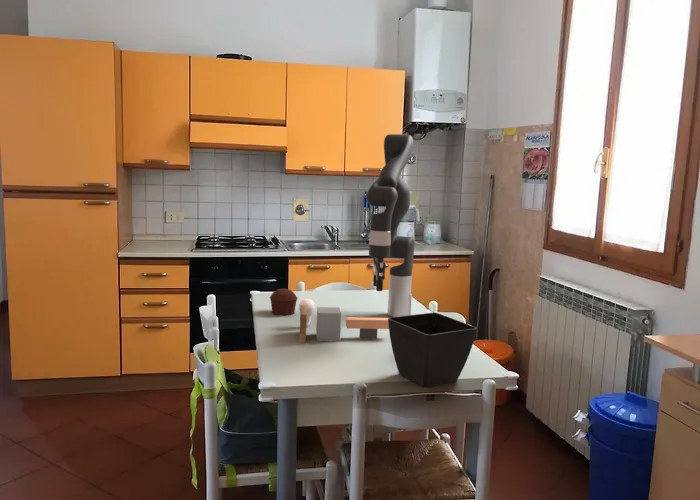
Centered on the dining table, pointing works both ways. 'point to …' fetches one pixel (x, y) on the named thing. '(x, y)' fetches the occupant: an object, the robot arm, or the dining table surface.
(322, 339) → the block
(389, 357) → the dining table surface
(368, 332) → the block
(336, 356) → the dining table surface
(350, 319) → the dowel
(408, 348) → the flower pot
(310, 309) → the lightbulb
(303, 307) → the wooden board
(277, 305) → the muffin
